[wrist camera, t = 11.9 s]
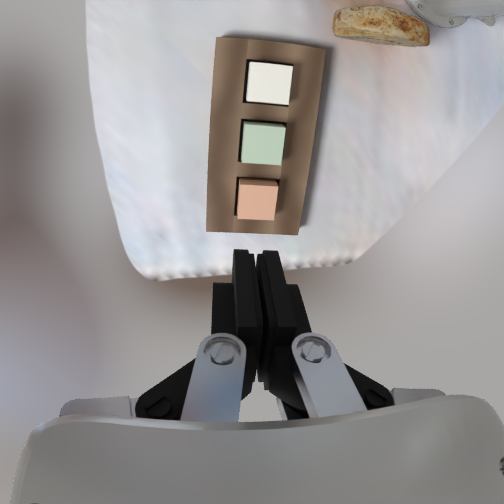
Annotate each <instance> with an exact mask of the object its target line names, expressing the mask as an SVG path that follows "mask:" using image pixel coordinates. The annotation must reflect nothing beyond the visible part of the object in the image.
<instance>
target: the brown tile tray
mask: <svg viewBox="0 0 504 504" xmlns="http://www.w3.org/2000/svg"><path fill="white" fill-rule="evenodd" d="M325 52H326V50H325V49H320V48H315V47H309V46H303V45H297V44H290V43H283V42H275V41H266V40H256V39H244V38H227V37H216V47H215V58H214V71H213V84H212V99H211V115H210V133H209V154H208V180H207V218H206V232H233V233H258V234H281V235H298V232H299V227H300V221H301V215H302V210H303V204H304V198H305V192H306V186H307V180H308V174H309V168H310V162H311V155H312V149H313V142H314V136H315V129H316V122H317V115H318V108H319V100H320V93H321V85H322V77H323V69H324V61H325ZM250 62H259V63H269V64H278V65H286V66H293V70H292V79H291V88H290V96H289V105H284V104H275V103H265V102H253V101H247V100H246V92H247V81H248V70H249V63H250ZM244 121H251V122H264V123H275V124H282V125H283V126H284V127H285V128H286V130H285V138H284V146H283V154H282V162H281V165H269V164H254V163H242V160H241V151H242V139H243V127H244ZM239 177H243V178H260V179H275V180H276V182H277V185H278V193H277V201H276V209H275V216H274V220H253V219H238V217H237V203H238V190H239Z"/></svg>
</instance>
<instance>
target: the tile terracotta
mask: <svg viewBox="0 0 504 504" xmlns="http://www.w3.org/2000/svg"><path fill="white" fill-rule="evenodd" d="M277 193H278V185H277V182H276V180H275V179H260V178H243V177H239V190H238V203H237V217H238V219H253V220H274V216H275V209H276V201H277Z"/></svg>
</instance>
